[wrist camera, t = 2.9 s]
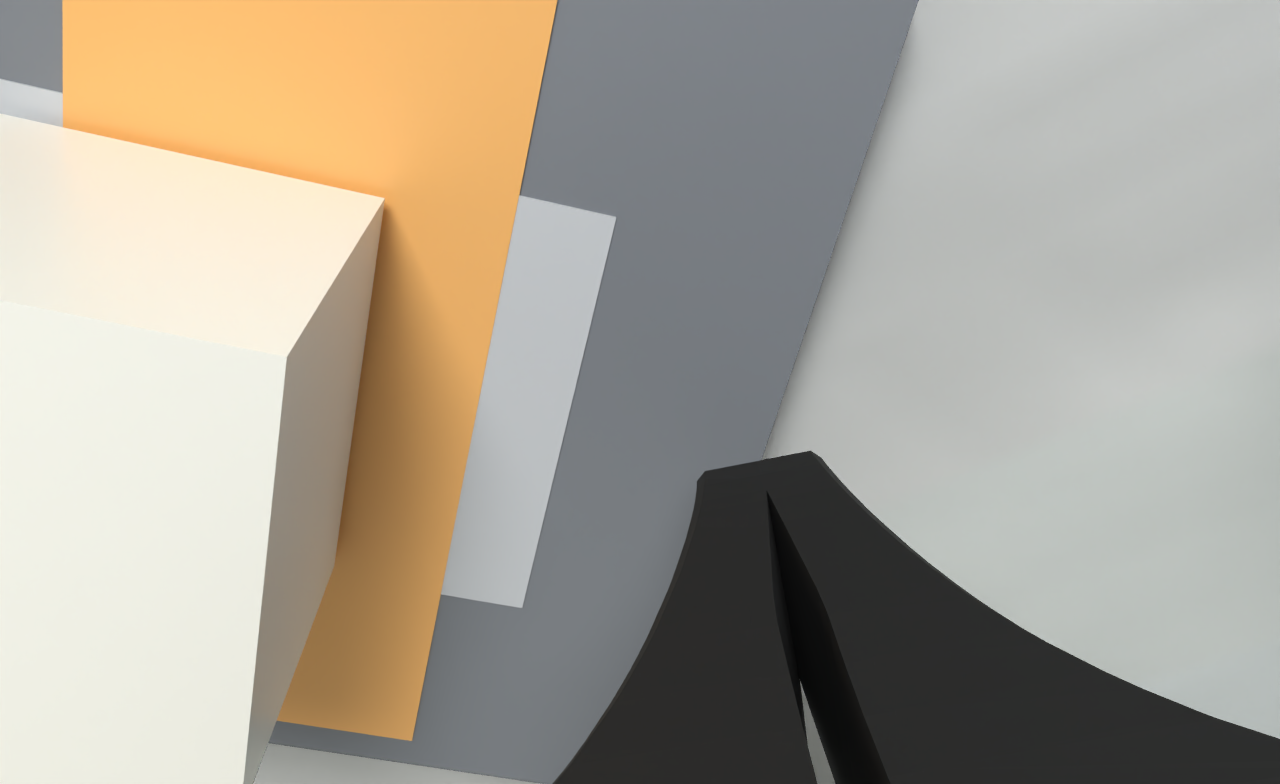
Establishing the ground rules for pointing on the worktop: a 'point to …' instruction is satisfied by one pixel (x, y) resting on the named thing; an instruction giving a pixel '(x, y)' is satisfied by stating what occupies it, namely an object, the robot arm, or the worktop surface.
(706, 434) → the breaker panel
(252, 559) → the cream white cube
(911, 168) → the worktop surface
